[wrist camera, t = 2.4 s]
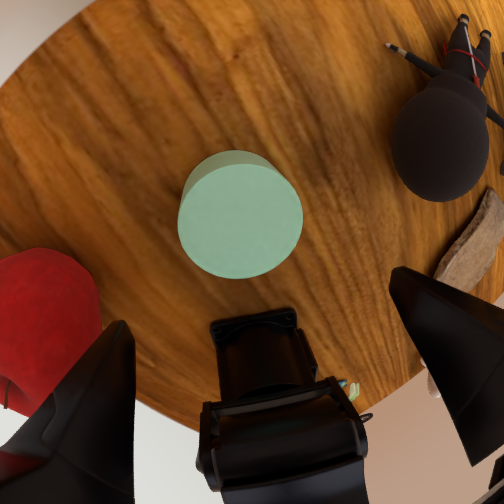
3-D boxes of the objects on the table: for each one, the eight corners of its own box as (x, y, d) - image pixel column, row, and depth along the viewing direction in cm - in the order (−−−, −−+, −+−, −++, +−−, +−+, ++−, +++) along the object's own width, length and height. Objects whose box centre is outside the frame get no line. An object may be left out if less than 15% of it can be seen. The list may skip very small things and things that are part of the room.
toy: (404, 3, 13) (334, 153, 18) (420, -45, 7) (337, 137, 12) (514, 77, 12) (461, 234, 16) (555, 54, 6) (508, 254, 10)
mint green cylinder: (193, 254, 18) (192, 288, 15) (172, 160, 15) (164, 177, 12) (287, 237, 18) (304, 267, 15) (280, 143, 15) (300, 155, 12)
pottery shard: (435, 314, 28) (508, 206, 20) (445, 330, 26) (524, 219, 18) (390, 305, 25) (476, 172, 18) (401, 324, 23) (496, 185, 16)
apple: (92, 197, 15) (-7, 327, 6) (144, 318, 20) (127, 458, 11) (-9, 237, 14) (-91, 337, 5) (47, 333, 19) (9, 441, 10)
